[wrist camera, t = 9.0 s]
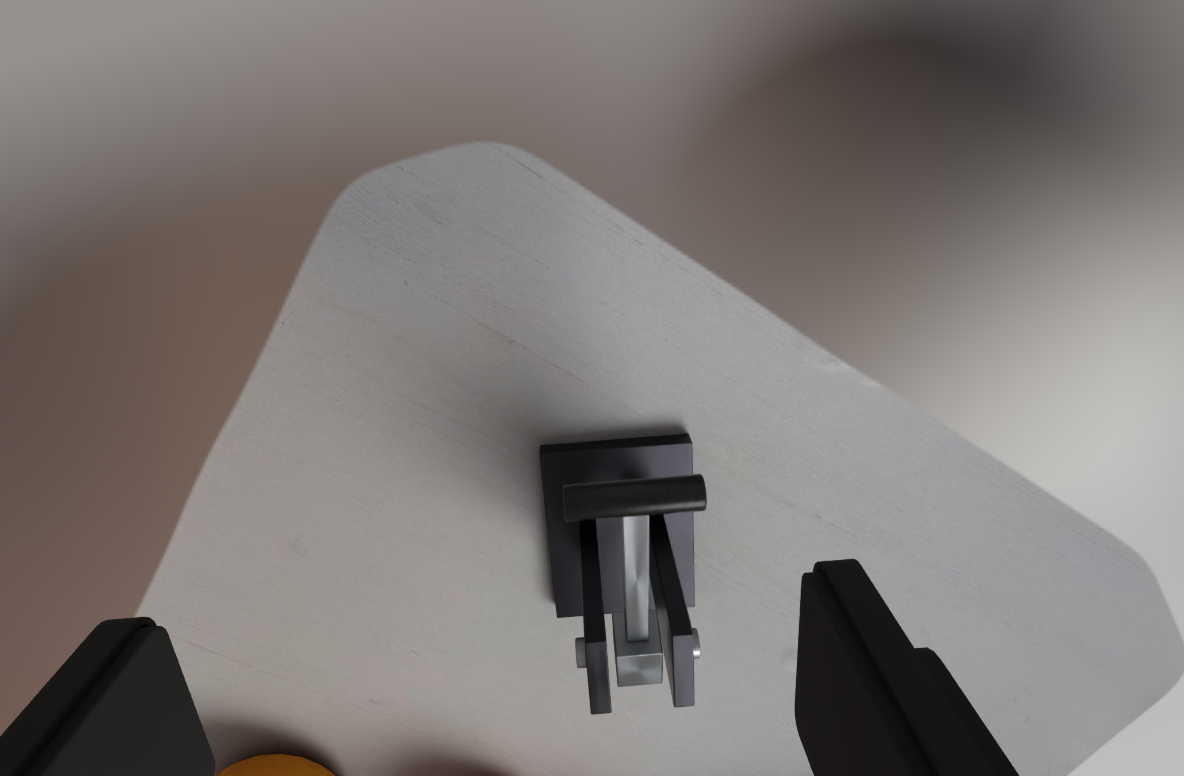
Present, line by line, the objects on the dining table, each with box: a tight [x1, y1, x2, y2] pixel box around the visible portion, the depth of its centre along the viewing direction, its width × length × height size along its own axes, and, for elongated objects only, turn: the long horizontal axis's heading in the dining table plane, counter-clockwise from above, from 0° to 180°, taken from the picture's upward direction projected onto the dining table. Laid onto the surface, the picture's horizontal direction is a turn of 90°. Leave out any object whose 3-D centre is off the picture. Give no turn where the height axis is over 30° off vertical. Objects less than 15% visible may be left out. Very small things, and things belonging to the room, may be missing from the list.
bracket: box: [540, 434, 700, 714], centre depth 39 cm, size 12×9×13 cm
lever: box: [563, 474, 707, 687], centre depth 32 cm, size 13×6×2 cm, turn 4°
